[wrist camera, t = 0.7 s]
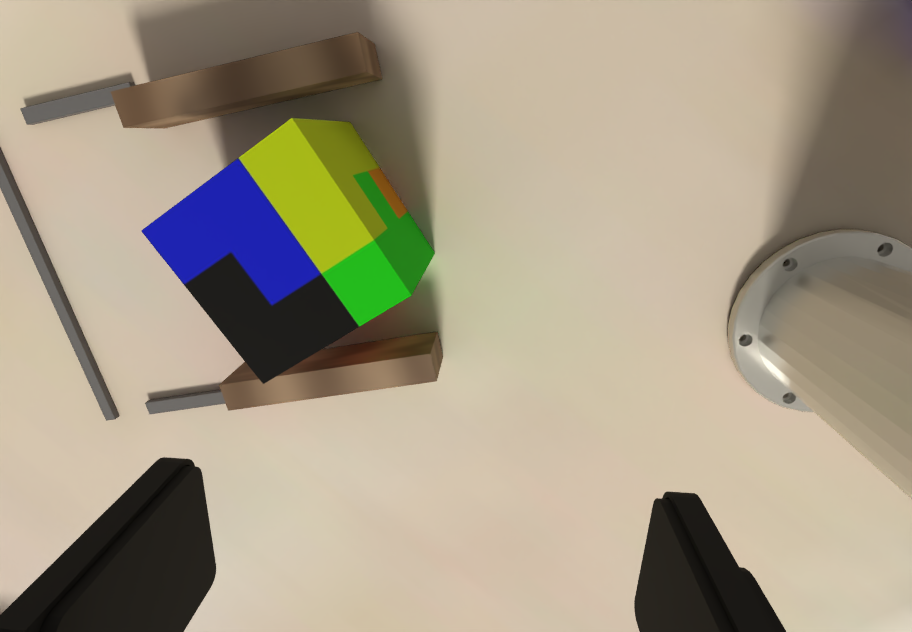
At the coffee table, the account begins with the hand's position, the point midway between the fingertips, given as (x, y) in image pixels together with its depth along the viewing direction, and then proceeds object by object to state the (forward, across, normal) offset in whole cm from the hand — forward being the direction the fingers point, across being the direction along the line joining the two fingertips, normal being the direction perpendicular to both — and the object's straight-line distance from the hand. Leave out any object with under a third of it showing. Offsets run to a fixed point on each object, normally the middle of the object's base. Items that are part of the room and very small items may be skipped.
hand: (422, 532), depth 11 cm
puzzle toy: (+27, +9, -1) cm, 29 cm away
